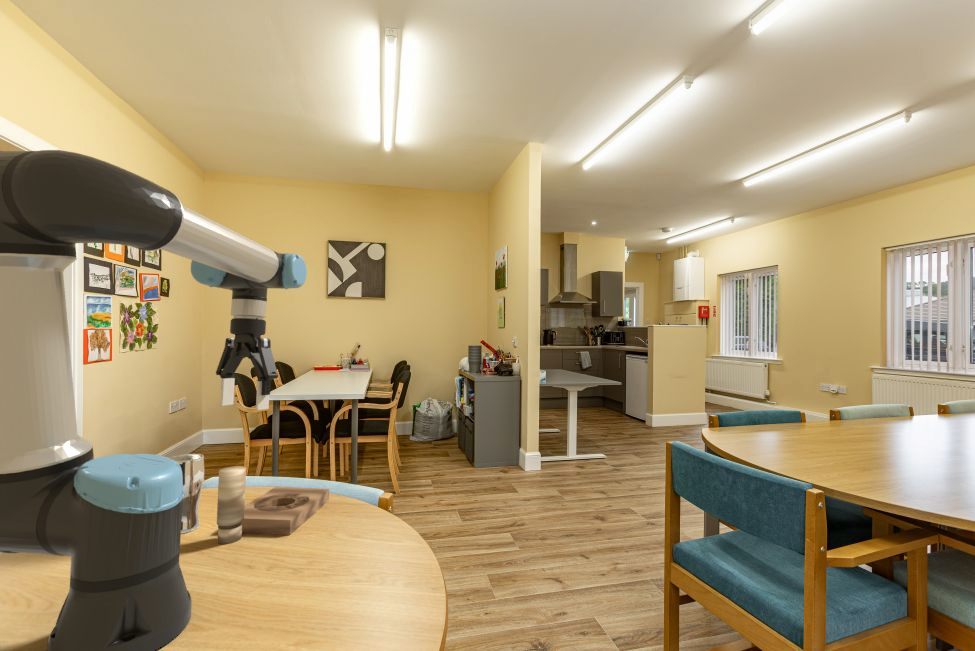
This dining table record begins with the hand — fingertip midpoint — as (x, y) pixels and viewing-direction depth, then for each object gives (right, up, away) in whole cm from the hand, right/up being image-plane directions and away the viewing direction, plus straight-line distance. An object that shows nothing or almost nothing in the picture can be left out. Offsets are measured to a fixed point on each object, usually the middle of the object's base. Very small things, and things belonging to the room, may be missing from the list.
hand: (244, 407), depth 105 cm
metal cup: (-7, -24, -11) cm, 27 cm away
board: (+10, -25, -3) cm, 27 cm away
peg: (+6, -24, -16) cm, 29 cm away
